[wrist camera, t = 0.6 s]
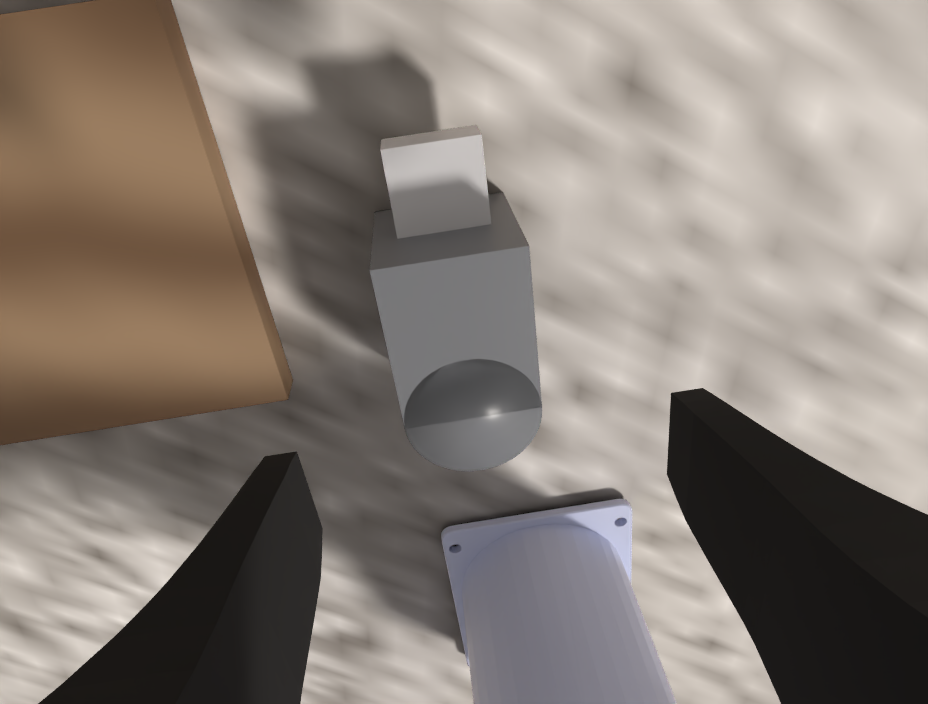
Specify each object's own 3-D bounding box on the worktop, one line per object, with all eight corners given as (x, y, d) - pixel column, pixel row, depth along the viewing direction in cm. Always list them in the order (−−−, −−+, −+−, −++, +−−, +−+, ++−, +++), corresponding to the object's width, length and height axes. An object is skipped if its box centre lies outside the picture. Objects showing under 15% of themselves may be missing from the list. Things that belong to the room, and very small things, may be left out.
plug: (521, 379, 23) (546, 459, 19) (412, 396, 23) (416, 480, 19) (495, 111, 18) (521, 147, 15) (358, 131, 18) (348, 174, 15)
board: (293, 379, 22) (288, 399, 21) (-49, 434, 22) (-70, 456, 21) (167, -10, 16) (152, -9, 15) (-308, 61, 16) (-356, 67, 15)
